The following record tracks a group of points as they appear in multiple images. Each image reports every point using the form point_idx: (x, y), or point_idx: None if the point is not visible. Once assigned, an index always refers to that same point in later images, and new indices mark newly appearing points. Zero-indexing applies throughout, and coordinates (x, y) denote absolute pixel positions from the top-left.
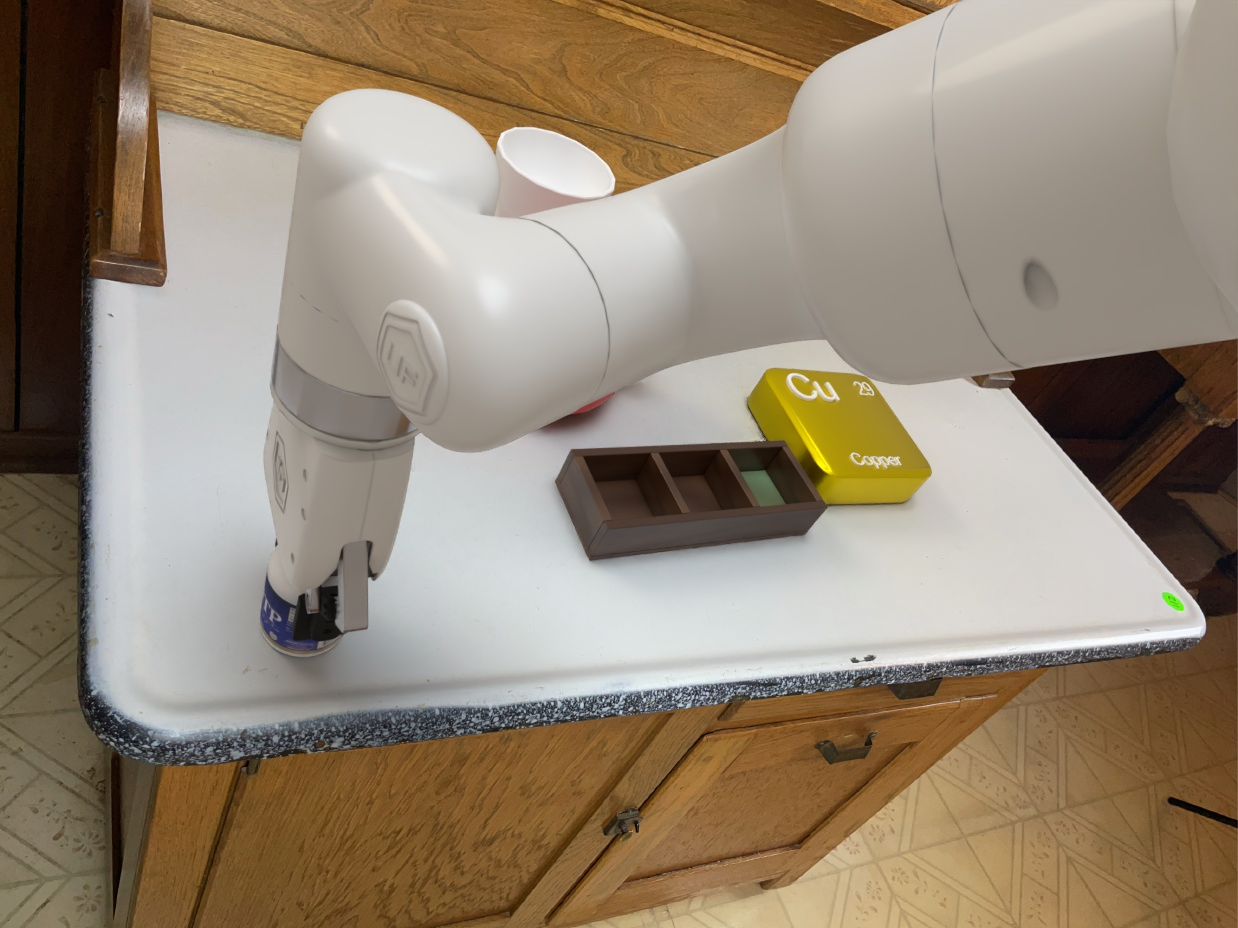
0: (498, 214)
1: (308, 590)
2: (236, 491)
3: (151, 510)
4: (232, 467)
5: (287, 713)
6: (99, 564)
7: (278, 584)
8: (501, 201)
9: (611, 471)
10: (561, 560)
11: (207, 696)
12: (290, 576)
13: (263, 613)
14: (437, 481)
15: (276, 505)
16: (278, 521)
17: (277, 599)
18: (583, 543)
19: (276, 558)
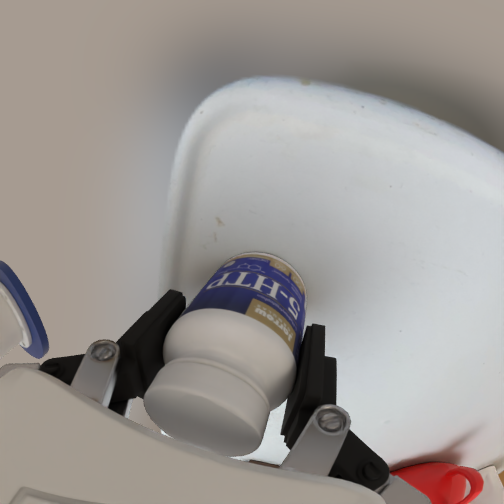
0: (493, 486)
1: (97, 367)
2: (453, 289)
3: (466, 196)
4: (477, 295)
5: (165, 242)
6: (413, 115)
7: (196, 322)
8: (494, 494)
9: None
10: (255, 452)
11: (200, 176)
12: (4, 380)
13: (250, 267)
14: (364, 431)
15: (108, 493)
16: (82, 460)
17: (201, 303)
18: (262, 464)
19: (239, 343)
